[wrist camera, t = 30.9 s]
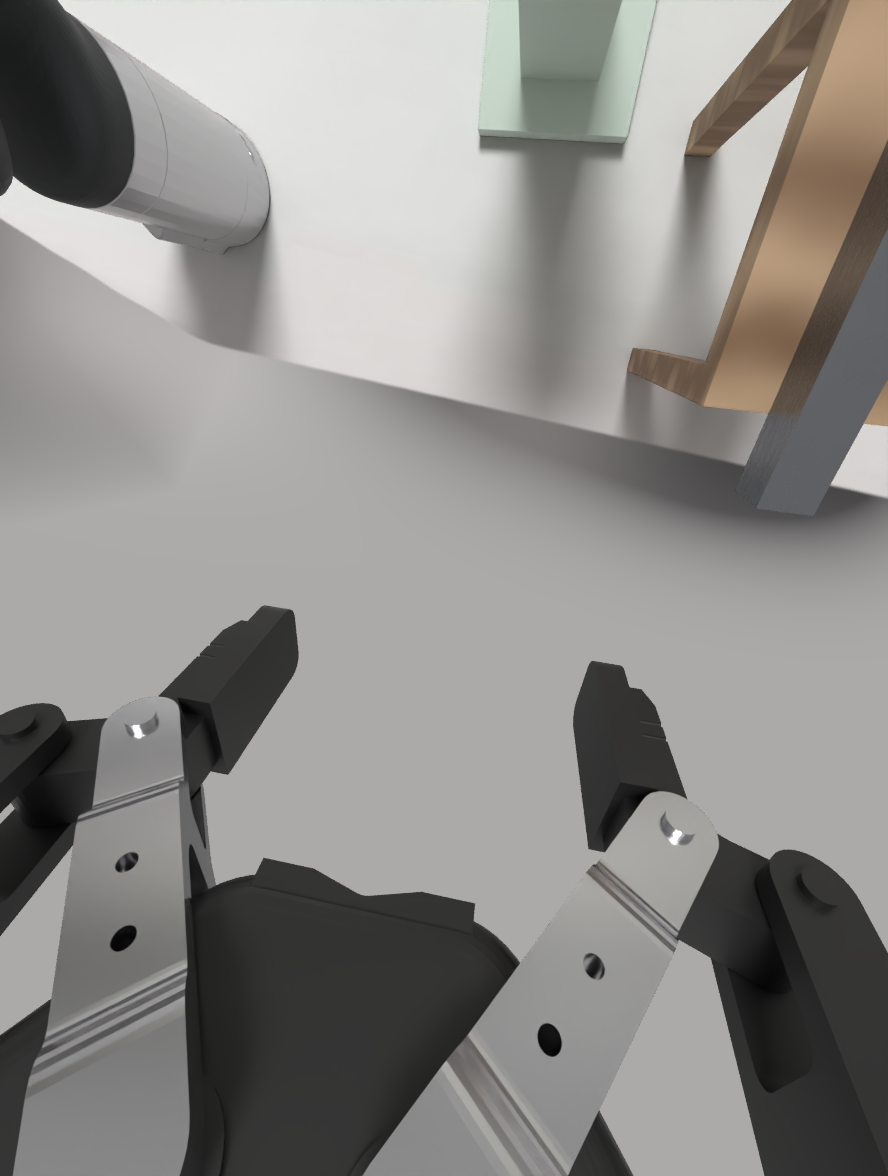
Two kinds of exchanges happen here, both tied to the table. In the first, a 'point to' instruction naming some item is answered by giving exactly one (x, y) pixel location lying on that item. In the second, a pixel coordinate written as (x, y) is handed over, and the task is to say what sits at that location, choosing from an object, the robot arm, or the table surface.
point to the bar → (829, 370)
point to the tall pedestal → (563, 68)
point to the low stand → (790, 196)
